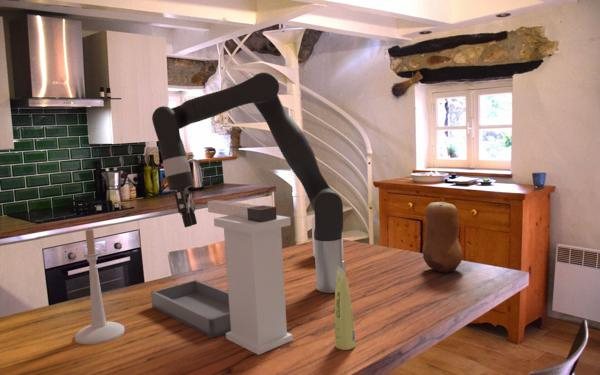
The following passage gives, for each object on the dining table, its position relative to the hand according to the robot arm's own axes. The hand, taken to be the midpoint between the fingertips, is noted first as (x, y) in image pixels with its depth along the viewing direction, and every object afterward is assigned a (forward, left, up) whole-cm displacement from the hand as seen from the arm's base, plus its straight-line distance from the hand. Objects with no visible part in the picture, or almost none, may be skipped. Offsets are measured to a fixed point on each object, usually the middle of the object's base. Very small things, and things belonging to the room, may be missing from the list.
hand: (191, 225), depth 150 cm
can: (-53, -45, -26) cm, 75 cm away
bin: (-2, +4, -26) cm, 27 cm away
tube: (-35, +38, -26) cm, 58 cm away
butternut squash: (-86, -10, -26) cm, 91 cm away
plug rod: (-13, +23, +6) cm, 27 cm away
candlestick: (+27, +10, -26) cm, 39 cm away
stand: (-15, +27, -26) cm, 41 cm away
